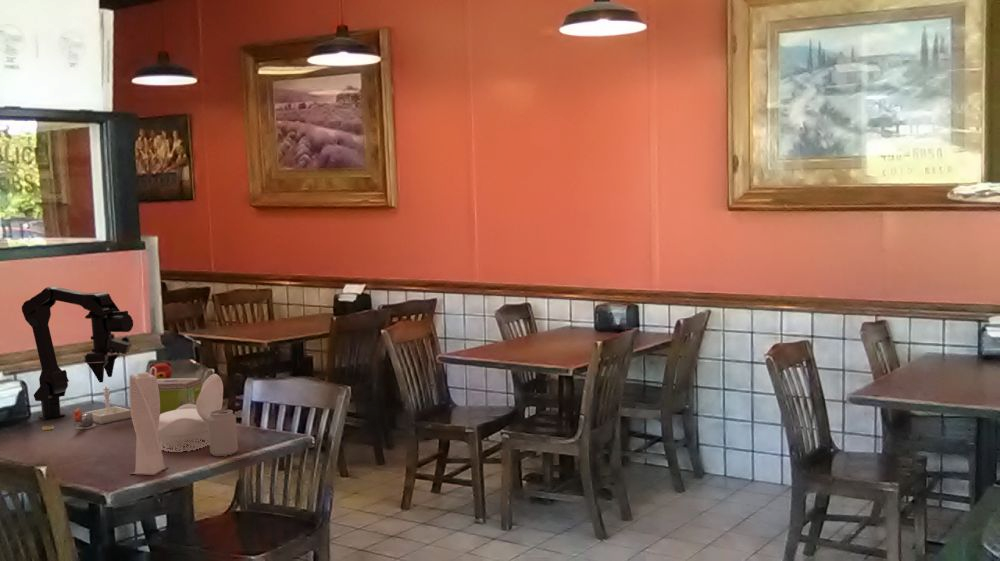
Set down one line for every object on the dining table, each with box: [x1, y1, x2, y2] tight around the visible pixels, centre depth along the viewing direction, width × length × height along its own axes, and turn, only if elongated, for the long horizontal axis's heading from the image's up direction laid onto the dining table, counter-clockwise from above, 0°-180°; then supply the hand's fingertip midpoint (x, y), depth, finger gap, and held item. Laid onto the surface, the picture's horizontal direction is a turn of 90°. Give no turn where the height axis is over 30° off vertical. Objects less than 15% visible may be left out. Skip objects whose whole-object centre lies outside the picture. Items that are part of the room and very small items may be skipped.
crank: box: [72, 407, 94, 427], centre depth 324 cm, size 12×4×7 cm, turn 7°
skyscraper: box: [128, 367, 169, 476], centre depth 271 cm, size 8×8×28 cm
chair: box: [157, 373, 224, 453], centre depth 299 cm, size 20×20×20 cm
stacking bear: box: [149, 362, 173, 379], centre depth 338 cm, size 11×10×18 cm
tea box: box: [157, 377, 203, 414], centre depth 323 cm, size 15×10×15 cm
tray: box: [84, 405, 132, 425], centre depth 339 cm, size 11×11×2 cm
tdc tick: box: [41, 425, 54, 431], centre depth 327 cm, size 3×1×1 cm, turn 97°
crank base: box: [74, 422, 98, 430], centre depth 329 cm, size 6×6×1 cm
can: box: [208, 409, 239, 457], centre depth 288 cm, size 8×8×12 cm
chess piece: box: [101, 386, 112, 416], centre depth 339 cm, size 5×5×10 cm
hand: (105, 379), depth 338 cm, fingers open, 9 cm apart
